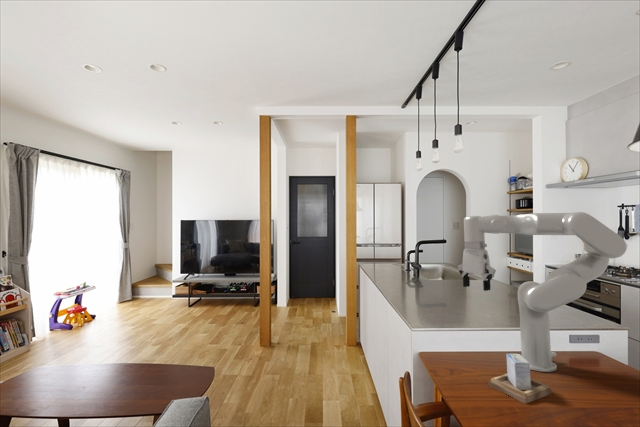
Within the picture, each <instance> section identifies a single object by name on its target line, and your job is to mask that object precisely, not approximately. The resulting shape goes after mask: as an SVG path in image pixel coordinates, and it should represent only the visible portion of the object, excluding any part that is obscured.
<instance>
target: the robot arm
mask: <svg viewBox="0 0 640 427" xmlns="http://www.w3.org/2000/svg"><path fill="white" fill-rule="evenodd" d="M485 234H495V235H498V234H519V235H521V234H522V235H528V236H576V237H577V238H579V239H580V240H581V241H582V242H583V251H582V254H581V255H580V256H579V257H578V258H576V259H575V260H573V261H571V262H569V263H567V264H565V265H562V266H560V267H557V268H556V269H554V270H552V271H550V272H549V273H548V274H547V275H546V277H545V281H543V282H541V283H539V282H537V281H533V280H532V281H531V280H529V281H525V282H523V283H521V284H520V285H519V286H518V288H517V303H518V308H519V309H518V311H519V328H520V330H519V331H520V349H521V351H520V353H521V356H522V357H523V358H524V359H525V360H526V361H527V362H529V365H530V371H531V370H532V371H537V372H543V373H544V372H545V373H549V372H550V373H552V372H555V371H557V370H558V368H557V364H556V363H555V362H553V360H552V359H553V358H556V357H557V352H555V351H552V350H551V347H552V346H551V329H550V325H551V324H550V314H549V312H551V311H553V310H554V311H555V310H556V309H558V308H560V307H562V306H564V305H567V304H570V303H571V302H574V301H575V300H577V299H579V298H581V297H583V295H584V294H585V292H586V290H587V288H588V287H587V284H588V283H589V282H591V281H594V280H596V279H597V278H599V277H600V276H602V275H603V274H604V273H605V271H606V270H607V268H608V265H609V262H610V260H611V259H617V258H620V257H622V256H623V255H624V254H625V253H626V251H627V248H628V245H627V243H626V240H624V238H623V237H622V236H621V235H620V234H618V233H616V232H615V231H614V230H613V229H611V228H609V227H608V226H607V225H606V224H604V223H602V222H601V221H600V220H598V219H596V217H594V216H592V215H591V214H589V213H586V212H583V211H576V212H546V213H545V212H541V213H540V212H538V213H537V212H535V213H526V214H518V215H517V214H516V215H515V214H514V215H499V214H492V215H491V214H490V215H485V216H481V215H473V216H472V215H471V216H469V215H468V216H465V217H464V218H463V235H464V237H463V238H464V239H463V240H464V248H463V252H462V263H460V264H459V265H457V269H458V271H459V274H460V275H461V278H462V286H463V287H464V288H465V287H466V288H467V287H470V284H471V282H470V275H476V276H477V275H478V276H481V277H482V278H483V280H482V285H483V286H482V287H483V291H484V292H487V291H490V290H491V280H493V278H494V277H495V274H496V272H497V270H496V269H495V268H494V267H492V266H491V261H490V257H489V256H490V255H489V253H488V250H487V249H486V248H487V247H488V246H487V243H486V241H485V240H486V239H485V238H486V237H485Z"/></svg>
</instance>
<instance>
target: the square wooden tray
mask: <svg viewBox="0 0 640 427" xmlns="http://www.w3.org/2000/svg"><path fill="white" fill-rule="evenodd" d="M530 379H531V389H530V390H519V389H516V388H515V387H514V386H513V384H512V383H511V382H510V381H509V379H508V376H507V373H505V374H502V375H499V376H495V377H492V378H490V380H489V381H487V386H488V387H489V386H490V387H489V388H491V387H492V388H491V389H493V388H494V389H493V390H495V389H496V391H497V390H499V391H498V392H500V391H501V392H500V393H502V392H503V393H502V394H504V393H505V394H504V395H506V394H507V395H506V396H508V395H509V397H510V396H511V397H510V398H512V397H513V398H512V399H514V398H515V399H514V400H516V399H517V401H518V402H521V403H522V404H528V403H531V402H534V401H536V400H540V399H541V398H544V397H548V396H549V395H552V388H550V387H549V385H548V384H545V383H542V382H540V381H538V380H535V379H532V378H530Z"/></svg>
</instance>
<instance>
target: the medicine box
mask: <svg viewBox="0 0 640 427" xmlns="http://www.w3.org/2000/svg"><path fill="white" fill-rule="evenodd" d="M505 357H506V374H507V376H508V379H509V381H510V382H511V383H512V384H513V386H514V387H515V388H516V389H519V390H530V389H531V379H532V378H531V369H530V365H529V362H527V361H526V360H525V359H524V358H523V357H522V354H520V353H506V356H505Z"/></svg>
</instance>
